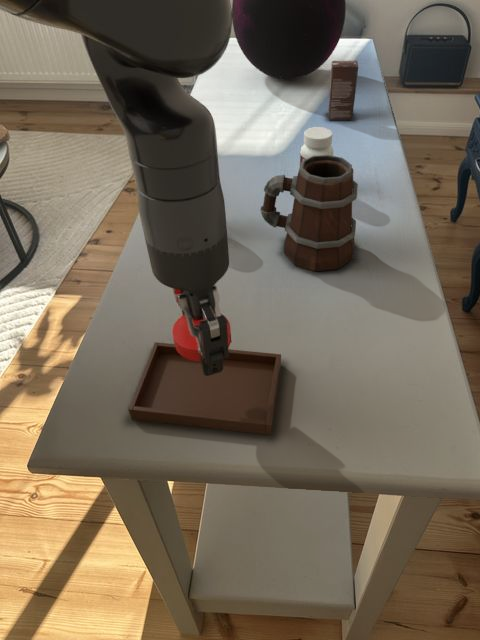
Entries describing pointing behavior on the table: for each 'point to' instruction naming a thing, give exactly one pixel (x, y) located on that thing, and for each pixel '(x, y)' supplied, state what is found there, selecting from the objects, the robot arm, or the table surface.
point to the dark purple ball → (288, 34)
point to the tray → (208, 391)
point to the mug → (316, 212)
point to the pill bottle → (316, 143)
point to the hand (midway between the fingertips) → (203, 350)
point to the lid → (189, 339)
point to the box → (342, 90)
